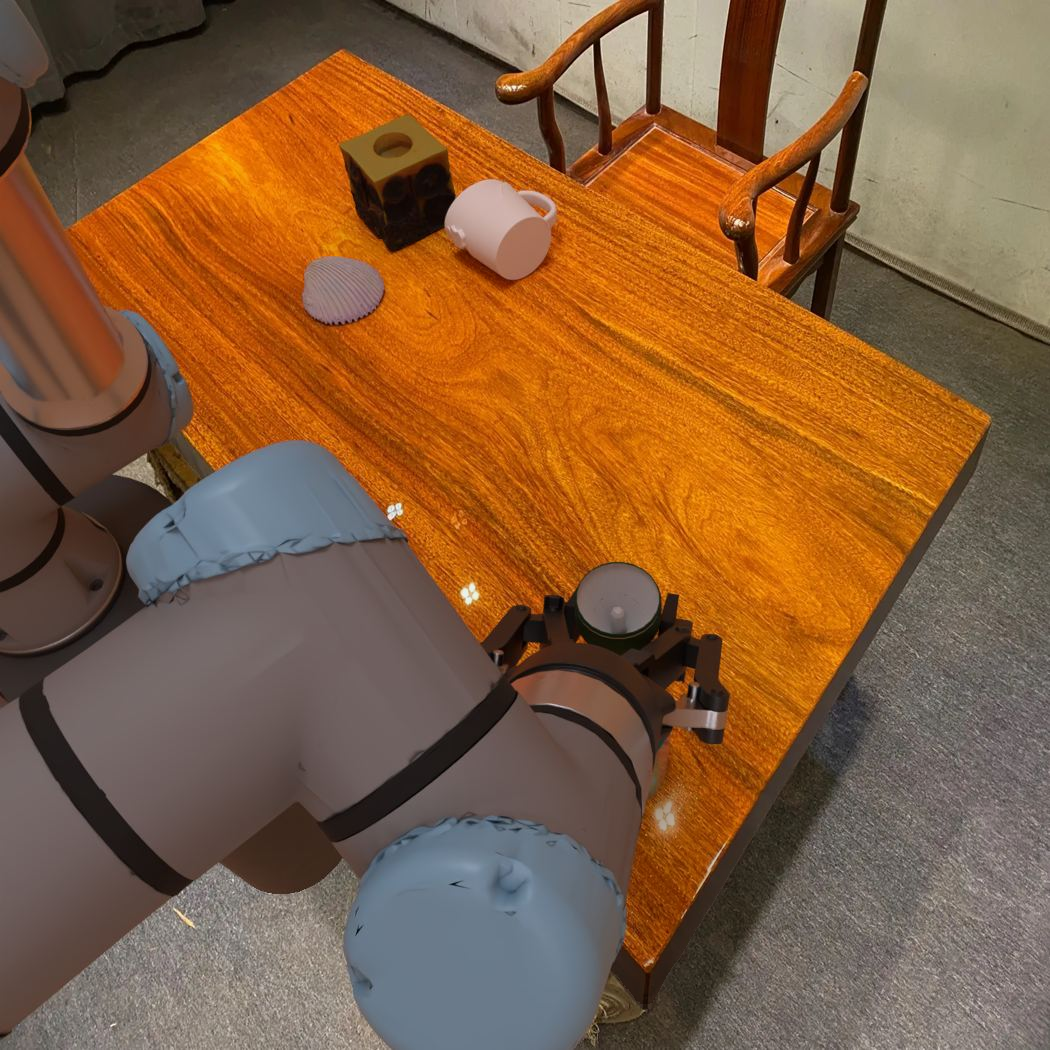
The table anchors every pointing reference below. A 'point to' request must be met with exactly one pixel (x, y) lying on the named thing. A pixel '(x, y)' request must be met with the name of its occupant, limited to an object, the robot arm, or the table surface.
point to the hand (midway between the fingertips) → (627, 606)
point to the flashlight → (618, 607)
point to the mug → (502, 227)
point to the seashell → (341, 289)
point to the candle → (399, 181)
